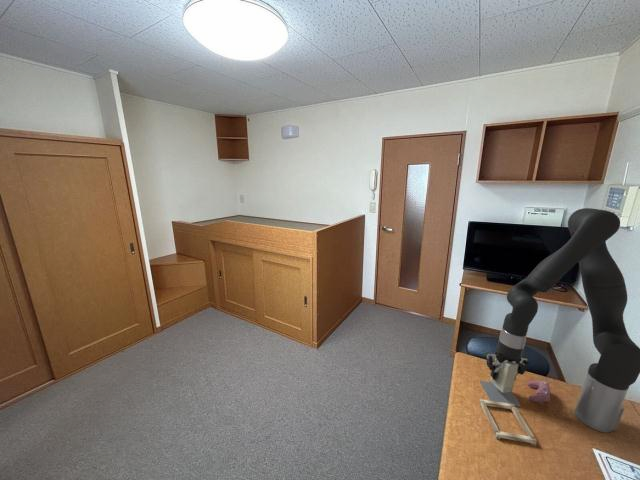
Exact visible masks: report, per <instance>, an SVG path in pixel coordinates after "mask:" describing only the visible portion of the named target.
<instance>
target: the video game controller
mask: <svg viewBox="0 0 640 480" xmlns="http://www.w3.org/2000/svg"><path fill="white" fill-rule="evenodd" d="M527 386H528V387H529V386H530V388H532V389H536V391H535V392H536V394H531V395H529V396H528V397H527V399H528V400H529V401H530V402H534V403H543V402H544V403H546V402H548V401H550V398H551V394H550V393H551V388H550V384H549V383H547V382H546V381H544V380H541V379H539V380H534V381H533V380H532V381H528V382H527Z"/></svg>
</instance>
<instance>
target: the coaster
mask: <svg viewBox="0 0 640 480" xmlns="http://www.w3.org/2000/svg"><path fill="white" fill-rule="evenodd" d="M479 383H480V384H481V387H482V388H483V390H484V392H485V394H486V396H487V398H488V400H489V401H495V402H502V403H509V404H514V405H515V407H516V408H521V407H522V405H521V403H520V401H519V400H518V399H517V397H516V396H515V394H514V393H513V391H512V392H504V393H502V392H501V391H500V390H499V389H498V388H497V387H496V386H495V385H494V384H493V383H492V382H491V381H483V380H480V381H479Z"/></svg>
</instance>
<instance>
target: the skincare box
mask: <svg viewBox="0 0 640 480" xmlns="http://www.w3.org/2000/svg"><path fill="white" fill-rule="evenodd" d="M496 359H497V358H494V361H495V360H496ZM497 362H498V360H497ZM498 364H500V363H499V362H498ZM518 365H519V363H516V364H512V362H508V363H504V366H503V368H502V369H500V370H499V371H498V375H497V379H496V380H493V378H492V377H491V376H490V380H489V382H492V383H493V384H494V385H495V386H496V387H497V388H498V389H499V390H500V391H501V392H502V393H504V392H512V393H513V389H514V385H515V381H516V379H515V377H516V378H517V376H516V373H517V369H518Z"/></svg>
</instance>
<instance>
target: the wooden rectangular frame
mask: <svg viewBox="0 0 640 480" xmlns="http://www.w3.org/2000/svg"><path fill="white" fill-rule="evenodd" d="M478 404H479V406H480V407H481V408H482V411H483V412H484V414H485V416H486V418H487V421H488V422H489V425H490V426H491V428H492V431H493V433H494V438H495V439H496V440H501V438H502V439H507V440H513V441H517V442H524V443H529V444H530V446H537V442H538V440H537V439H536V437H535V435H534V434H533V432H532V430H531V429H530V427H529V425H528V424H527V423H526V421H525V419H524V418H523V416H522V415H521V413H520V411H519V410H518V407H517V406H515V405H514V404H509V403H502V402H495V401H490V400H489V399H488V400H487V399H481V398H479V402H478ZM488 406H489V407H495V408H500V409H506V410H507V409H508V410H510V412H512V413H513V415H514V416H515V418H516V419H517V421H518V422H519V425H520V426H521V427H522V429H523V431H524V432H525V434H526V435H525V434H520V433H519V434H517V433H512V432H506V431H501V430H499V428H498V425H497V424H496V421H495V419H494V418H493V415H492V414H491V412H490V410H489V408H488Z"/></svg>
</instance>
